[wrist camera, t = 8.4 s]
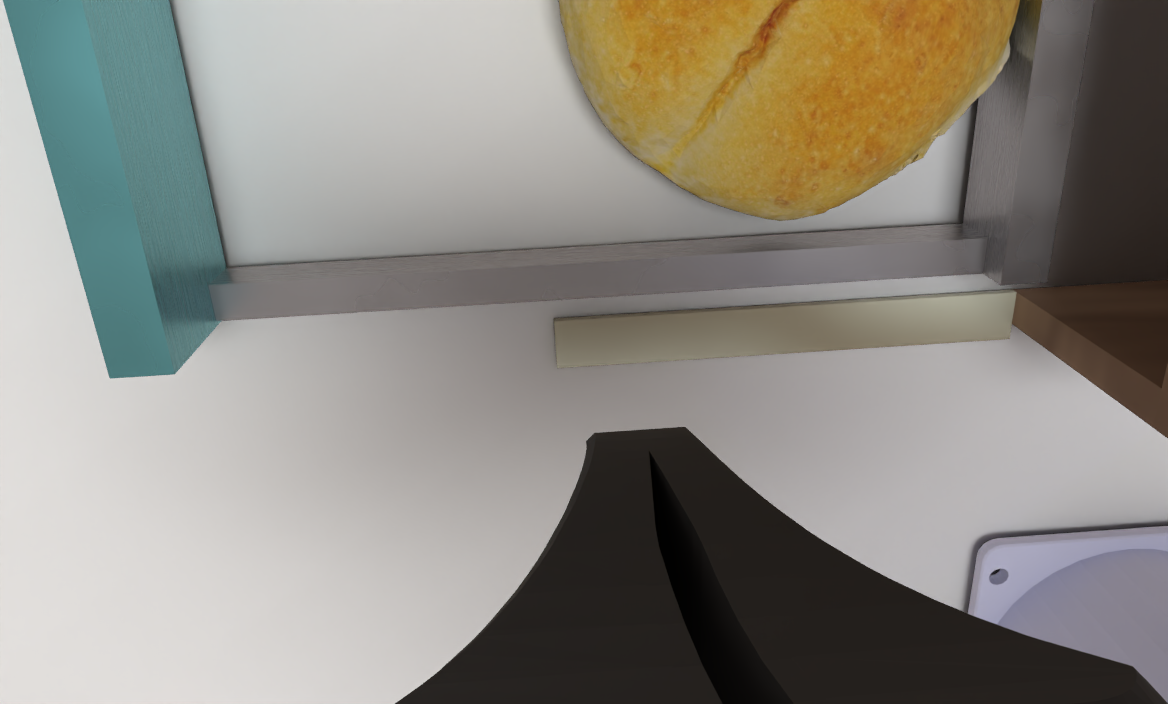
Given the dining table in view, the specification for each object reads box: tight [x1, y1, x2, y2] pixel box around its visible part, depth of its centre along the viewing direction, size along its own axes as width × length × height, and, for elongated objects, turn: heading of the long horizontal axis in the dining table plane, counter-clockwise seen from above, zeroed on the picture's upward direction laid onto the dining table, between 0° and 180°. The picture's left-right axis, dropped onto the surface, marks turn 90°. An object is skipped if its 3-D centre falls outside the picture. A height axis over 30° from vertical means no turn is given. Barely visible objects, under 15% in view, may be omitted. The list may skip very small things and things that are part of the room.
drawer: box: [3, 0, 1094, 378], centre depth 16 cm, size 12×19×4 cm, turn 93°
